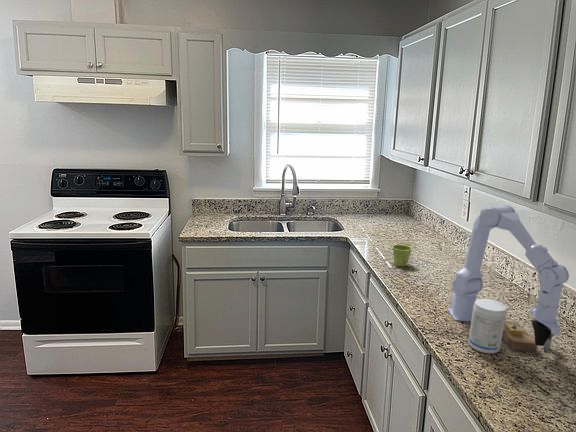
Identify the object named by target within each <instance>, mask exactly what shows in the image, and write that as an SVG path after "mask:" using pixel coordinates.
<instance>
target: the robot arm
mask: <svg viewBox="0 0 576 432" xmlns="http://www.w3.org/2000/svg"><path fill="white" fill-rule="evenodd" d="M495 228H497V229H501V230H505V231H509V233H511V235H512V236H513V237H514V238H515V239H516V241H518V243H519V244H520V245H521V247H523V248H524V250H525V253H524V255H525V257H526V259H527V260H528V261H529V262H530V264H531V265H532V266H533V268H534V269H535V270H536V272H537V273H538V274H537V277H538V281H539V291H538V295H537V301H536V307H533V306H531V307H530V311H529V313H530V314H531V315H532V317H533V319H534V320H533V319H532V320H530V321H531V325H532V328H533V333H534V341H535V344H536V345H537V346H539V347H540V346H541V347H544V344H545V343H546V341H547V339H548V337H549V336H550V335H551V334H554V335H558V336H559V335H561V334H560V333H561V328H560V326H559V322H560V318H559V317H557V315H558V311H559V306H560V301H561V296H562V292H563V288H564V284H565V283H567V282H568V281H569V278H570V274H569V271H568V269H567V267H566V266H564V265H563V264H559V262H557V260H555V259H554V258H553V257H552V256H551V254H550V253H549V252H548V250H549V249H548V248H547V247H546V246H543V245H542V244H538V243H536V241H535V240H534V239H533V238H532V235H530V233H529V232H528V230H527V229H526V227H525V225H524V224H523V223H522V222H521V220H520V214H518V213H517V212H516V211H515V209H514V208H513V207H512V206H510V205H501V206H487V207H485V208H483V209H481V210H480V213H479V215H478V216H477V218H475V220H474V223H473V227H472V231H471V233H470V234H471V235H470V239H469V243H468V246H467V247H468V248H467V251H466V257H465V261H464V265H463V268H461V269H460V270H459V271H458V272H457V273H456V274H455V275H456V276H455V278H453V280H452V282H451V283H452V284H451V285H452V290H453V293H452V297H451V302H450V307H448V308H447V310H448V312H449V314H450V315H451V317H452V319H453V320H454V321H459V322H460V321H461V322H470V323H471V320H472V314H473V308H474V304H475V301H476V300H477V296H478V295H479V292H481V291H482V290H483V288H484V282H483V281H484V280H483V279H484V278H483V277H484V274H483V273H482V271H481V270H482V269H481V268H482V264H483V261H484V260H483V259H484V255H485V253H486V249H487V244H488V240H489V237H490V232H491V230H492V229H495Z"/></svg>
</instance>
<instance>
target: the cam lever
mask: <svg viewBox="0 0 576 432" xmlns="http://www.w3.org/2000/svg"><path fill="white" fill-rule="evenodd" d="M554 336H555V334H551V335H550V336H549V337H548V339H547V341H546V343H545V344H544V346H543V352H542V353H543V354H544V353H545V354H549V351H550V347H551V344H552V338H553V337H554Z"/></svg>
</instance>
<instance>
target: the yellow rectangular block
mask: <svg viewBox="0 0 576 432" xmlns="http://www.w3.org/2000/svg"><path fill="white" fill-rule="evenodd" d="M504 329H505V330H506V331H507V332H508V333H509V335H515V336H522V333H523V331H522V330H521V328H520V327H519V326H518V325H517V324H510V323H505V324H504Z"/></svg>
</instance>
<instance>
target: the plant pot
mask: <svg viewBox="0 0 576 432" xmlns="http://www.w3.org/2000/svg"><path fill="white" fill-rule="evenodd" d="M391 248H392V251H393V264H394V265H395V266H398V267H406V266H407V265H408V262H409V258H410V255H411V253H412V250H413V247H411V246H409V245H405V244H393V245H392V246H391Z"/></svg>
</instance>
